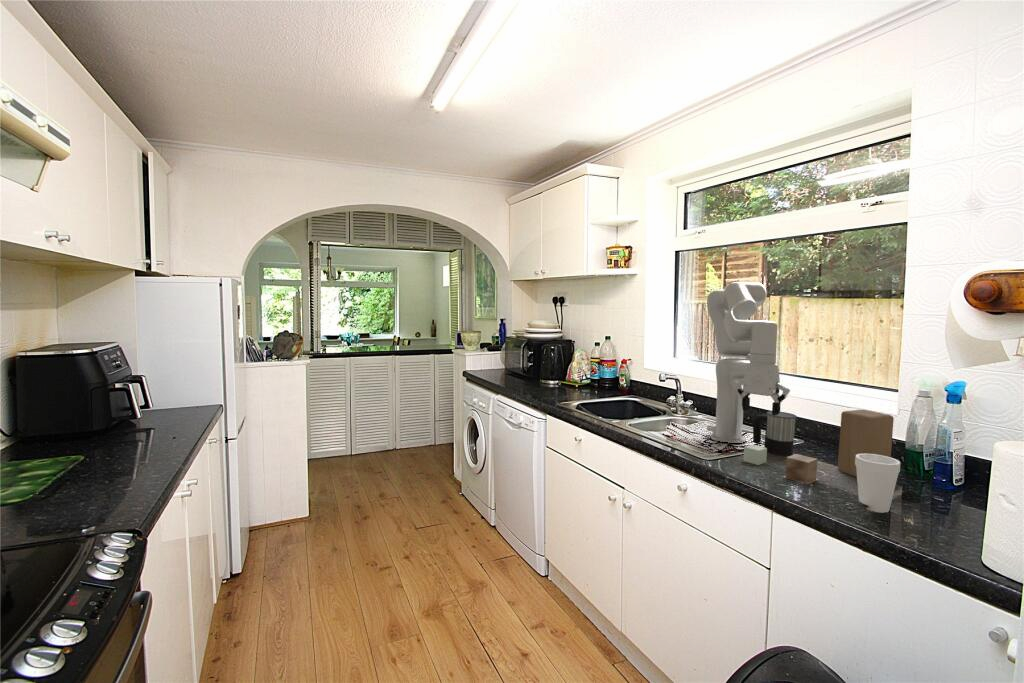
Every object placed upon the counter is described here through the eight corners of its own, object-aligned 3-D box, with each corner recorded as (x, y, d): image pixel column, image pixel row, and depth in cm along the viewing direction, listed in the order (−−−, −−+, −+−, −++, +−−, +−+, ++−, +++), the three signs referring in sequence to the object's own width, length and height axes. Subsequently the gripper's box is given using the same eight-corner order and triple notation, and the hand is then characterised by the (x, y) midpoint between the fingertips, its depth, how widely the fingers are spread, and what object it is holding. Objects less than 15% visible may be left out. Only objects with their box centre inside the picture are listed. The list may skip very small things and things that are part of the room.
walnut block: (785, 477, 152) (786, 457, 152) (794, 473, 156) (796, 453, 155) (806, 482, 147) (808, 462, 147) (816, 478, 151) (817, 458, 151)
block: (857, 470, 164) (862, 408, 162) (890, 480, 154) (895, 415, 153) (835, 473, 160) (840, 410, 158) (867, 484, 151) (872, 417, 149)
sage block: (743, 464, 167) (744, 446, 167) (751, 462, 170) (752, 444, 170) (758, 469, 163) (759, 450, 163) (766, 466, 166) (767, 448, 166)
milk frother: (795, 455, 179) (798, 413, 178) (790, 466, 166) (793, 421, 165) (751, 447, 187) (753, 407, 186) (743, 458, 174) (745, 415, 173)
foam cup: (898, 507, 134) (902, 459, 133) (894, 518, 127) (898, 467, 126) (855, 497, 140) (858, 451, 139) (849, 507, 133) (852, 458, 132)
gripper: (731, 357, 169) (728, 408, 170) (784, 362, 155) (782, 418, 156) (743, 356, 174) (741, 406, 175) (796, 361, 160) (793, 415, 161)
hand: (760, 412), depth 165 cm, fingers open, 9 cm apart
